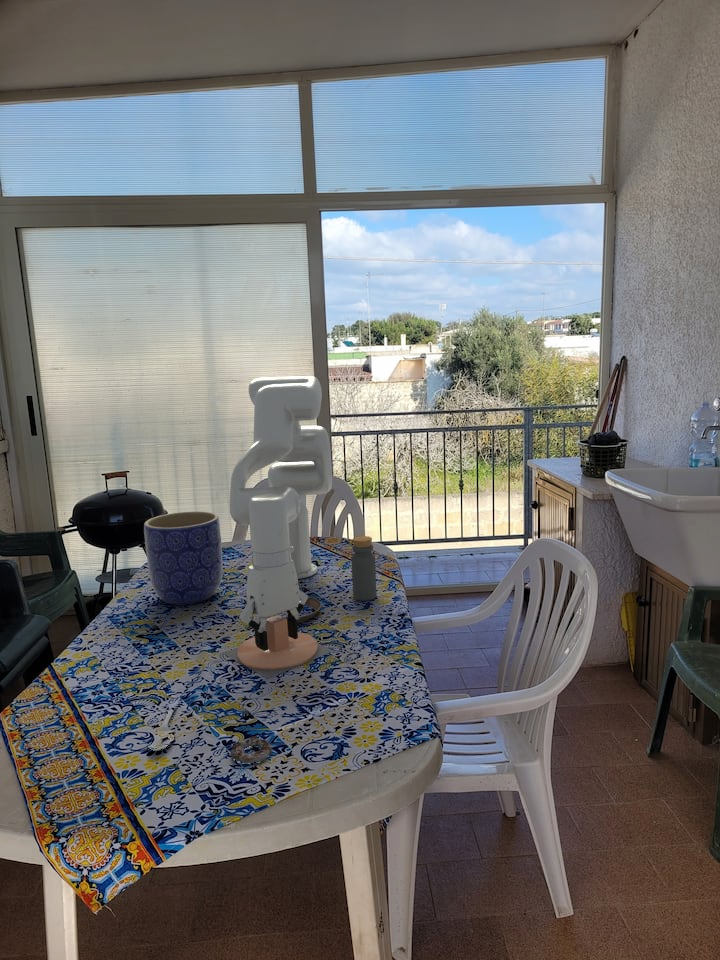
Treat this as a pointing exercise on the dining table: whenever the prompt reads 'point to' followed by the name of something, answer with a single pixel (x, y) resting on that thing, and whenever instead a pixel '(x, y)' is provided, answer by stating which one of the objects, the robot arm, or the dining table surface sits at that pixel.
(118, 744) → the dining table surface
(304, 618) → the brown ring
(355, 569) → the bottle
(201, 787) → the dining table surface
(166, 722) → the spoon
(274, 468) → the robot arm
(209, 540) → the planter
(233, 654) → the mat
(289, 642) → the lid
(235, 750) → the donut
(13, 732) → the dining table surface
